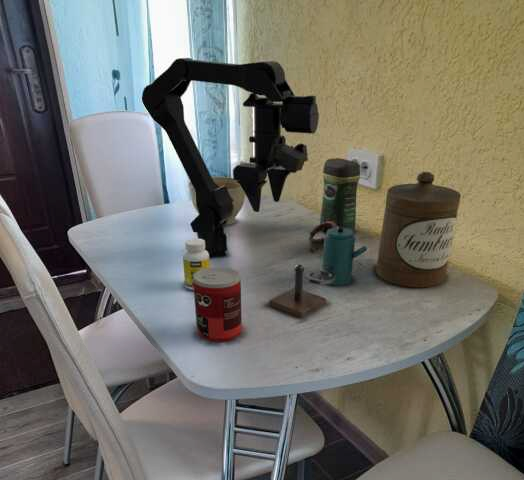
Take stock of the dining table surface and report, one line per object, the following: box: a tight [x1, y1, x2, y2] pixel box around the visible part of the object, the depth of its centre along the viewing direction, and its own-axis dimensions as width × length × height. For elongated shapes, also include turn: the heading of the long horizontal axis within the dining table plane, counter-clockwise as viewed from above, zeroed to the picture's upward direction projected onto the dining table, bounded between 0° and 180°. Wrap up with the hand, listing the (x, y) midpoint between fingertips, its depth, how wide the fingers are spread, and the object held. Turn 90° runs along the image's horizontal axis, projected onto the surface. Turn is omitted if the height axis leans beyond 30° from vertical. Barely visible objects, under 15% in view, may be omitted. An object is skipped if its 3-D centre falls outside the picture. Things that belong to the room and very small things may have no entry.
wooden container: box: [375, 171, 462, 288], centre depth 107 cm, size 15×15×22 cm
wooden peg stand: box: [268, 264, 327, 319], centre depth 97 cm, size 8×8×8 cm
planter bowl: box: [187, 176, 246, 226], centre depth 143 cm, size 16×16×11 cm
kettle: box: [305, 227, 368, 287], centre depth 103 cm, size 9×15×12 cm, turn 150°
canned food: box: [193, 266, 243, 343], centre depth 87 cm, size 8×8×11 cm
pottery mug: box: [308, 221, 339, 252], centre depth 124 cm, size 12×10×8 cm
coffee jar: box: [319, 157, 361, 232], centre depth 134 cm, size 10×8×19 cm
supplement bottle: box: [182, 237, 211, 291], centre depth 105 cm, size 5×5×10 cm
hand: (266, 206), depth 112 cm, fingers open, 9 cm apart
